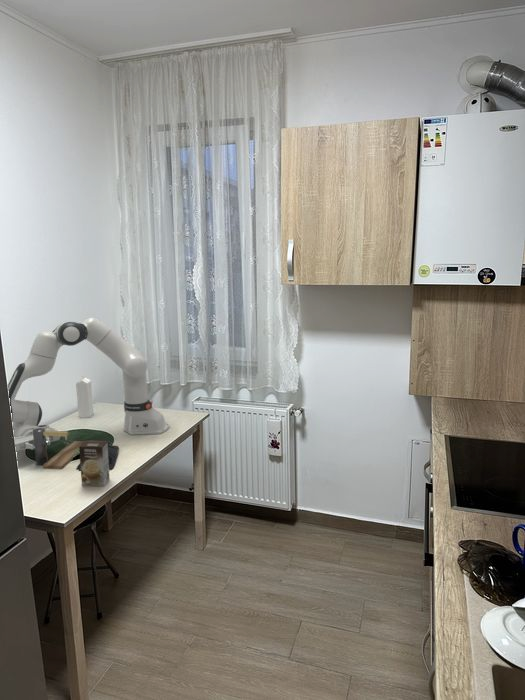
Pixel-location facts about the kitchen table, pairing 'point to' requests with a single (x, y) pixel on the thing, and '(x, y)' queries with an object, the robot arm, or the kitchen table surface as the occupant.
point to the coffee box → (94, 463)
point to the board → (63, 456)
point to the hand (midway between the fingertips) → (41, 445)
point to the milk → (84, 398)
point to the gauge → (44, 443)
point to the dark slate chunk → (109, 456)
